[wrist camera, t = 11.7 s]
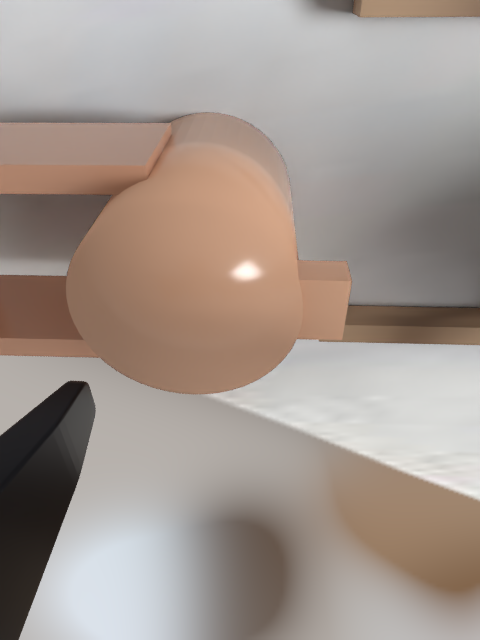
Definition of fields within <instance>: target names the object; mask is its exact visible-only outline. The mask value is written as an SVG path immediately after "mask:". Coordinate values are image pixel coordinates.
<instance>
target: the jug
mask: <svg viewBox="0 0 480 640" xmlns="http://www.w3.org/2000/svg"><path fill="white" fill-rule="evenodd" d="M0 194H81V195H112V196H111V198H110V199H109V201H108V202H107V204H106V205H105V207H104V208H103V210H102V211H101V213H100V214H99V216H98V217H97V219H96V220H95V222H94V223H93V225H92V226H91V228H90V229H89V231H88V232H87V234H86V235H85V237H84V238H83V240H82V241H81V243H80V244H79V246H78V247H77V249H76V251H75V253H74V255H73V257H72V259H71V262H70V265H69V269H68V272H67V276H35V275H0V355H14V356H56V357H57V356H58V357H97V358H101V359H102V360H103V361H104V362H105V363H107V364H108V365H109V366H111V367H112V368H114V369H115V370H116V371H118V372H120V373H121V374H123V375H125V376H127V377H128V378H130V379H133V380H135V381H137V382H139V383H141V384H145V385H147V386H150V387H153V388H156V389H160V390H164V391H169V392H175V393H182V394H211V393H220V392H225V391H229V390H233V389H236V388H240V387H243V386H245V385H248V384H250V383H252V382H254V381H256V380H258V379H260V378H261V377H263V376H265V375H266V374H268V373H269V372H270V371H272V370H273V369H274V368H275V367H276V366H277V365H278V364H279V363H280V362H281V361H282V360H283V359H284V358H285V357H286V356H287V354H288V353H289V352H290V350H291V349H292V347H293V345H294V343H295V341H296V340H297V339H318V340H342V338H343V332H344V326H345V320H346V314H347V308H348V302H349V296H350V290H351V284H352V279H351V275H350V272H349V268H348V264H347V261H303V260H298V252H297V242H296V233H295V224H294V215H293V206H292V197H291V187H290V180H289V175H288V171H287V168H286V165H285V163H284V161H283V158H282V156H281V155H280V153H279V151H278V150H277V148H276V147H275V146H274V144H273V143H272V142H271V141H270V139H269V138H267V137H266V136H265V135H264V134H263V133H262V132H261V131H260V130H258V129H257V128H255V127H254V126H253V125H251V124H249V123H247V122H245V121H243V120H242V119H239V118H236V117H233V116H230V115H226V114H221V113H210V112H206V113H195V114H190V115H186V116H183V117H180V118H178V119H175V120H173V121H172V122H170V123H0Z"/></svg>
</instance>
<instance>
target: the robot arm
mask: <svg viewBox="0 0 480 640" xmlns="http://www.w3.org/2000/svg"><path fill="white" fill-rule="evenodd" d="M94 418H95V403H94V400H93V397H92V394H91V390H90V387H89V385H88V383H87V382H84V381H68V382H67V383H65V384H64V385H63V386H61V387H60V388H59V389H58V390H57V391H55V392H54V393H53V394H52V395H50V396H49V397H48V398H46V399H45V400H44V401H43V402H42V403H40V404H39V405H38V406H37V407H35V408H34V409H33V410H32V411H30V412H29V413H28V414H27V415H25V416H24V417H23V418H22V419H20V420H19V421H18V422H17V423H16V424H14V425H13V426H12V427H11V428H9V429H8V430H7V431H6V432H4V433H3V434H2V435H1V436H0V640H19V637H20V634H21V632H22V629H23V626H24V624H25V621H26V618H27V616H28V613H29V610H30V608H31V605H32V603H33V600H34V597H35V595H36V592H37V589H38V586H39V584H40V581H41V579H42V576H43V573H44V571H45V568H46V565H47V562H48V560H49V557H50V554H51V552H52V549H53V547H54V544H55V541H56V539H57V536H58V533H59V531H60V528H61V525H62V523H63V520H64V517H65V515H66V512H67V509H68V507H69V504H70V501H71V499H72V496H73V494H74V491H75V488H76V485H77V482H78V479H79V476H80V473H81V469H82V465H83V461H84V457H85V453H86V449H87V446H88V442H89V437H90V433H91V430H92V426H93V422H94Z"/></svg>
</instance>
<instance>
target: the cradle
mask: <svg viewBox="0 0 480 640" xmlns="http://www.w3.org/2000/svg"><path fill="white" fill-rule="evenodd" d="M353 14H355V15H357V16H359V17H478V16H480V0H354V4H353ZM319 341H323V342H368V343H413V344H458V345H480V308H449V307H396V306H348V308H347V314H346V320H345V326H344V332H343V338H342V340H319Z"/></svg>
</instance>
